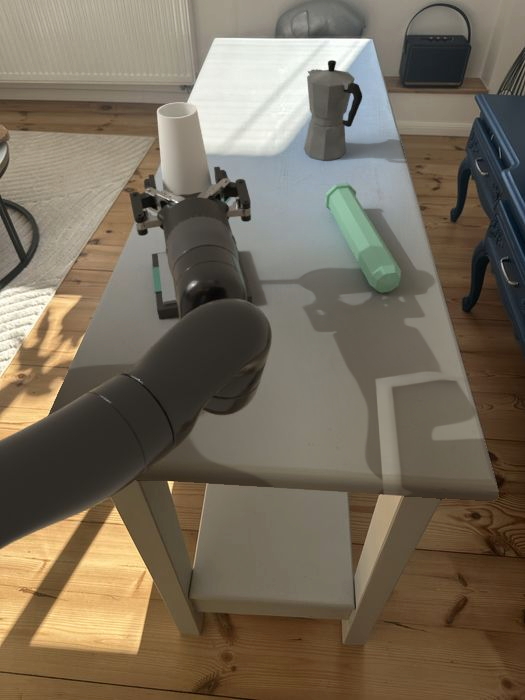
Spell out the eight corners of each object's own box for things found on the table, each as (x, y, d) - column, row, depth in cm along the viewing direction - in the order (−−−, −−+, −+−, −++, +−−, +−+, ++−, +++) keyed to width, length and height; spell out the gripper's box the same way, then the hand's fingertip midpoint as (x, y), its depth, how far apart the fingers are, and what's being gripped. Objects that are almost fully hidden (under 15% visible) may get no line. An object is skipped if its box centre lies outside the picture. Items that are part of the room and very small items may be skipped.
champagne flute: (217, 286, 72) (199, 122, 55) (173, 283, 73) (141, 121, 55) (224, 259, 77) (209, 99, 59) (182, 256, 77) (156, 98, 60)
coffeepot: (289, 146, 109) (291, 56, 95) (321, 135, 112) (327, 47, 99) (335, 173, 100) (345, 78, 87) (368, 159, 104) (382, 67, 90)
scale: (158, 319, 71) (155, 307, 69) (153, 262, 80) (150, 250, 79) (252, 304, 73) (251, 292, 71) (236, 251, 82) (235, 239, 80)
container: (404, 263, 69) (350, 176, 86) (366, 280, 70) (320, 191, 87) (411, 289, 74) (358, 202, 90) (374, 305, 75) (329, 216, 91)
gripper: (142, 284, 55) (136, 209, 65) (264, 266, 56) (239, 196, 67) (127, 227, 49) (124, 155, 60) (264, 209, 51) (236, 142, 62)
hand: (185, 177), depth 63 cm, fingers open, 8 cm apart
